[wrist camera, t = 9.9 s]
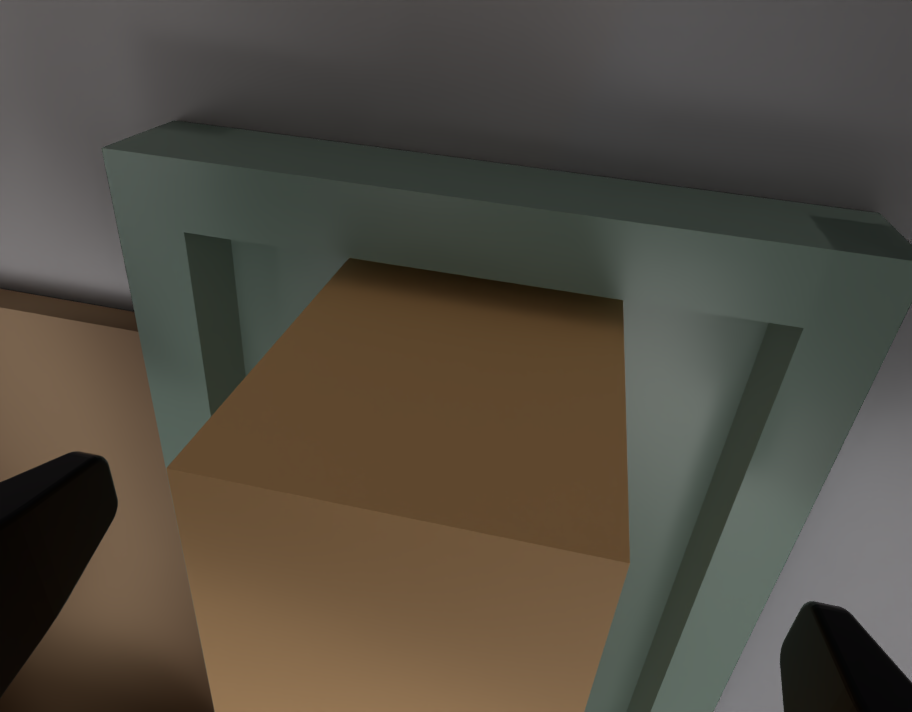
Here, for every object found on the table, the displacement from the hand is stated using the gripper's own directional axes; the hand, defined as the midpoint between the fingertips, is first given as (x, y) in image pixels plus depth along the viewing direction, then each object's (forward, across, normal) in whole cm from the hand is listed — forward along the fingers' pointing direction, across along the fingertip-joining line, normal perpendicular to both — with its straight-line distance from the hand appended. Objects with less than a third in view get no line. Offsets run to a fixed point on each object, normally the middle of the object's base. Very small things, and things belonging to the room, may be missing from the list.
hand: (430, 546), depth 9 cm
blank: (+3, 0, +4) cm, 5 cm away
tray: (+4, 0, +5) cm, 6 cm away
